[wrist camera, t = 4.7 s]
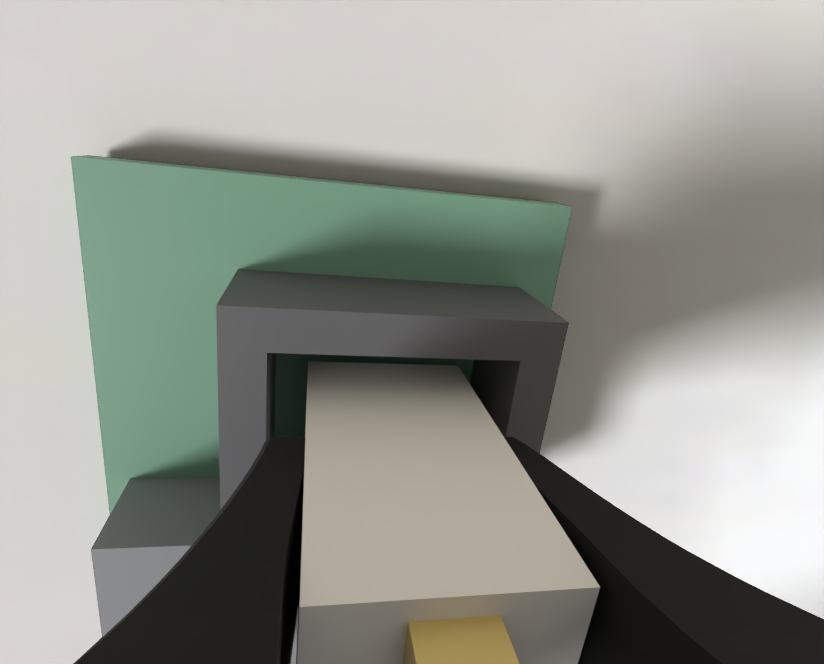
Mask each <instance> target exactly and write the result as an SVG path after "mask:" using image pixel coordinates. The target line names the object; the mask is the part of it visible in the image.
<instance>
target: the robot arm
mask: <svg viewBox="0 0 824 664" xmlns="http://www.w3.org/2000/svg"><path fill="white" fill-rule="evenodd" d="M504 438H505V440H506V441H507V443H508V444H509V446H510V447H511V449H512V451H513V452H514V454H515V455H516V457H517V458H518V460H519V461H520V463H521V465H522V466H523V468H524V469H525V471H526V472H527V474H528V475H529V477H530V479H531V480H532V482H533V483H534V485H535V486H536V488H537V489H538V491H539V493H540V494H541V496H542V497H543V499H544V500H545V502H546V503H547V505H548V507H549V508H550V510H551V511H552V513H553V514H554V516H555V517H556V519H557V521H558V522H559V524H560V525H561V527H562V528H563V530H564V531H565V533H566V535H567V536H568V538H569V539H570V541H571V542H572V544H573V545H574V547H575V549H576V550H577V552H578V553H579V555H580V556H581V558H582V559H583V561H584V563H585V564H586V566H587V567H588V569H589V570H590V572H591V573H592V575H593V577H594V578H595V580H596V581H597V583H598V584H599V586H600V590H599V593H598V597H597V600H596V604H595V607H594V610H593V614H592V617H591V621H590V624H589V627H588V631H587V634H586V638H585V641H584V644H583V648H582V651H581V655H580V658H579V661H578V664H824V619H822V618H819V617H817V616H815V615H813V614H811V613H809V612H807V611H805V610H802V609H800V608H798V607H796V606H794V605H792V604H790V603H787V602H785V601H783V600H781V599H779V598H777V597H775V596H772V595H770V594H768V593H766V592H764V591H762V590H760V589H758V588H756V587H754V586H752V585H750V584H748V583H746V582H744V581H742V580H740V579H738V578H736V577H734V576H732V575H731V574H729V573H727V572H725V571H723V570H721V569H720V568H718V567H716V566H714V565H712V564H710V563H709V562H707V561H705V560H703V559H701V558H699V557H697V556H696V555H694V554H692V553H690V552H688V551H687V550H685V549H683V548H681V547H680V546H678V545H676V544H675V543H673V542H671V541H669V540H668V539H666V538H664V537H663V536H661V535H660V534H658V533H656V532H655V531H653V530H652V529H650V528H648V527H647V526H645V525H644V524H642V523H640V522H639V521H637V520H636V519H634V518H632V517H631V516H629V515H628V514H626V513H625V512H623V511H622V510H620V509H618V508H617V507H615V506H614V505H612V504H611V503H609V502H608V501H606V500H605V499H603V498H602V497H601V496H599V495H598V494H596V493H595V492H593V491H592V490H590V489H589V488H587V487H586V486H585V485H583V484H582V483H580V482H579V481H577V480H576V479H575V478H573V477H572V476H570V475H569V474H567V473H566V472H565V471H563V470H562V469H560V468H559V467H558V466H556V465H555V464H553V463H552V462H551V461H549V460H548V459H546V458H545V457H543V456H542V455H540V454H539V453H538V452H536V451H535V450H533V449H532V448H530V447H529V446H527V445H526V444H524V443H523V442H521V441H519V440H518V439H516V438H514V437H504ZM304 463H305V437H270V438H269V439H268V440H267V441H266V442H264V444H263V447H262V449H261V451H260V452H259V454H258V456H257V458H256V460H255V461H254V463H253V464H252V466H251V468H250V469H249V471H248V472H247V474H246V475H245V477H244V478H243V480H242V481H241V483H240V484H239V486H238V487H237V488H236V490H235V491H234V492H233V494H232V495H231V497H230V498H229V499H228V501H227V502H226V503H225V505H224V506H223V508H222V509H221V510H220V512H219V513H218V514H217V515H216V517H215V518H214V519H213V521H212V522H211V523H210V524H209V525H208V527H207V528H206V529H205V530H204V531H203V533H202V534H201V535H200V536H199V537H198V538H197V540H196V541H195V542H194V543H193V544H192V546H191V547H190V548H189V549H188V550H187V552H186V553H185V554H184V555H183V556H182V557H181V559H180V560H179V561H178V562H177V563H176V564H175V565H174V566H173V567H172V568H171V570H170V571H169V572H168V573H167V574H166V575H165V576H164V577H163V578H162V579H161V580H160V581H159V582H158V583H157V585H156V586H155V587H154V588H153V589H152V590H151V591H150V592H149V593H148V594H147V595H146V596H145V597H144V598H143V599H142V600H141V601H140V602H139V603H138V604H137V605H136V606H135V607H134V608H133V609H132V610H131V611H130V612H129V613H128V614H127V615H126V616H125V617H124V618H123V619H121V620H120V621H119V622H118V623H117V624H116V625H115V626H114V627H113V628H112V629H111V630H110V631H108V632H107V633H106V634H105V635H104V636H103V637H102V638H101V639H100V640H99V641H98V642H97V643H96V644H94V645H93V646H92V647H91V648H90V649H89V650H88V651H87V652H86V653H85V654H84V655H83V656H82V657H80V658H79V659H78V660H77V661H76V662H75V663H74V664H291V657H292V649H293V642H294V634H295V627H296V619H297V611H298V600H299V578H300V555H301V532H302V509H303V487H304Z"/></svg>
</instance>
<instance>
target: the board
mask: <svg viewBox="0 0 824 664" xmlns="http://www.w3.org/2000/svg"><path fill="white" fill-rule="evenodd" d="M71 162H72V171H73V181H74V190H75V199H76V208H77V217H78V226H79V236H80V245H81V254H82V263H83V272H84V281H85V291H86V300H87V309H88V318H89V327H90V337H91V346H92V355H93V364H94V373H95V382H96V392H97V401H98V410H99V419H100V428H101V438H102V447H103V456H104V465H105V474H106V483H107V493H108V502H109V511H110V516H109V518H108V519H107V521H106V523H105V525H104V527H103V529H102V530H101V532H100V534H99V536H98V538H97V540H96V541H95V543H94V545H93V547H92V549H91V553H92V561H93V569H94V576H95V584H96V592H97V600H98V608H99V616H100V623H101V631H102V637H103V636H104V635H105V634H106V633H107V632H108V631H110V630H111V629H112V628H113V627H114V626H115V625H116V624H117V623H118V622H119V621H120V620H121V619H123V618H124V617H125V616H126V615H127V614H128V613H129V612H130V611H131V610H132V609H133V608H134V607H135V606H136V605H137V604H138V603H139V602H140V601H141V600H142V599H143V598H144V597H145V596H146V595H147V594H148V593H149V592H150V591H151V590H152V589H153V588H154V587H155V586H156V585H157V583H158V582H159V581H160V580H161V579H162V578H163V577H164V576H165V575H166V574H167V573H168V572H169V571H170V570H171V568H172V567H173V566H174V565H175V564H176V563H177V562H178V561H179V560H180V559H181V557H182V556H183V555H184V554H185V553H186V552H187V550H188V549H189V548H190V547H191V546H192V544H193V543H194V542H195V541H196V540H197V538H198V537H199V536H200V535H201V534H202V533H203V531H204V530H205V529H206V528H207V527H208V525H209V524H210V523H211V522H212V521H213V519H214V518H215V517H216V515H217V514H218V513H219V512H220V510H221V509H222V508H223V506H224V505H225V503H226V502H227V501H228V499H229V498H230V497H231V495H232V494H233V492H234V491H235V490H236V488H237V487H238V486H239V484H240V483H241V481H242V480H243V478H244V477H245V475H246V474H247V472H248V471H249V469H250V468H251V466H252V464H253V463H254V461H255V460H256V458H257V456H258V454H259V452H260V451H261V449H262V447H263V444H264V442H266V441H267V440H268V439H269V438H270V437H305V423H306V399H307V376H308V361H319V362H353V363H388V364H422V365H456V366H459V368H460V370H461V371H462V373H463V374H464V376H465V377H466V379H467V380H468V382H469V384H470V385H471V387H472V388H473V390H474V391H475V393H476V395H477V396H478V398H479V399H480V401H481V402H482V404H483V405H484V407H485V409H486V410H487V412H488V413H489V415H490V416H491V418H492V419H493V421H494V423H495V424H496V426H497V427H498V429H499V430H500V432H501V433H502V435H503V437H514V438H516V439H518V440H519V441H521V442H523V443H524V444H526V445H527V446H529V447H530V448H532V449H533V450H535V451H536V452H538V453H540V448H541V444H542V439H543V435H544V430H545V426H546V422H547V417H548V413H549V408H550V404H551V399H552V395H553V390H554V386H555V381H556V377H557V373H558V368H559V364H560V359H561V355H562V350H563V346H564V341H565V337H566V332H567V328H568V324H569V323H568V322H567V321H565V320H564V319H563V318H561V317H560V316H558V315H557V314H556V313H554V312H553V311H552V310H551V305H552V301H553V296H554V291H555V286H556V282H557V277H558V272H559V267H560V262H561V258H562V253H563V248H564V243H565V239H566V234H567V229H568V224H569V220H570V215H571V210H572V207H571V206H567V205H563V204H559V203H554V202H544V201H534V200H524V199H514V198H504V197H494V196H485V195H475V194H465V193H455V192H445V191H435V190H425V189H416V188H406V187H396V186H386V185H376V184H366V183H356V182H346V181H337V180H327V179H317V178H307V177H297V176H287V175H277V174H268V173H258V172H248V171H238V170H228V169H218V168H208V167H199V166H189V165H179V164H169V163H159V162H149V161H139V160H130V159H120V158H110V157H100V156H90V155H87V156H72V157H71ZM297 623H298V611H297V619H296V627H295V634H294V642H293V649H292V657H291V664H296V650H297Z"/></svg>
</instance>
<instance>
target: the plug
mask: <svg viewBox="0 0 824 664" xmlns="http://www.w3.org/2000/svg"><path fill="white" fill-rule="evenodd" d="M599 590H600V586H599V584H598V583H597V581H596V580H595V578H594V577H593V575H592V573H591V572H590V570H589V569H588V567H587V566H586V564H585V563H584V561H583V559H582V558H581V556H580V555H579V553H578V552H577V550H576V549H575V547H574V545H573V544H572V542H571V541H570V539H569V538H568V536H567V535H566V533H565V531H564V530H563V528H562V527H561V525H560V524H559V522H558V521H557V519H556V517H555V516H554V514H553V513H552V511H551V510H550V508H549V507H548V505H547V503H546V502H545V500H544V499H543V497H542V496H541V494H540V493H539V491H538V489H537V488H536V486H535V485H534V483H533V482H532V480H531V479H530V477H529V475H528V474H527V472H526V471H525V469H524V468H523V466H522V465H521V463H520V461H519V460H518V458H517V457H516V455H515V454H514V452H513V451H512V449H511V447H510V446H509V444H508V443H507V441H506V440H505V438H504V437H503V435H502V433H501V432H500V430H499V429H498V427H497V426H496V424H495V423H494V421H493V419H492V418H491V416H490V415H489V413H488V412H487V410H486V409H485V407H484V405H483V404H482V402H481V401H480V399H479V398H478V396H477V395H476V393H475V391H474V390H473V388H472V387H471V385H470V384H469V382H468V380H467V379H466V377H465V376H464V374H463V373H462V371H461V370H460V368H459V366H456V365H422V364H388V363H353V362H319V361H308V376H307V399H306V423H305V463H304V487H303V509H302V532H301V555H300V578H299V600H298V623H297V650H296V664H578V661H579V658H580V655H581V651H582V648H583V644H584V641H585V638H586V634H587V631H588V627H589V624H590V621H591V617H592V614H593V610H594V607H595V604H596V600H597V597H598V593H599Z"/></svg>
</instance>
